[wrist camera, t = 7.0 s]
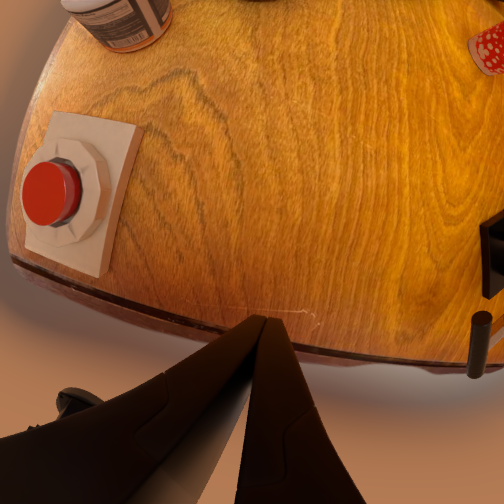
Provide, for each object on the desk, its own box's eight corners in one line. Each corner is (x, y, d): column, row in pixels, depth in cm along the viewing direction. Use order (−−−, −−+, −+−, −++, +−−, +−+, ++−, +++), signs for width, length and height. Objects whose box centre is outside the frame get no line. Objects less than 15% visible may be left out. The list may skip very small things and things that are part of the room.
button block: (108, 271, 18) (87, 287, 15) (37, 242, 17) (10, 253, 14) (145, 130, 16) (126, 119, 13) (65, 114, 15) (39, 105, 12)
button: (74, 228, 14) (59, 233, 12) (33, 213, 14) (17, 217, 12) (87, 168, 13) (72, 168, 12) (44, 157, 13) (28, 156, 11)
